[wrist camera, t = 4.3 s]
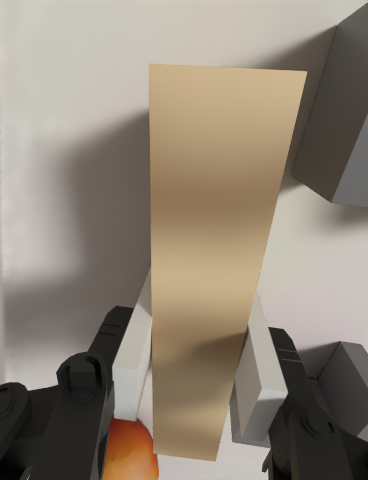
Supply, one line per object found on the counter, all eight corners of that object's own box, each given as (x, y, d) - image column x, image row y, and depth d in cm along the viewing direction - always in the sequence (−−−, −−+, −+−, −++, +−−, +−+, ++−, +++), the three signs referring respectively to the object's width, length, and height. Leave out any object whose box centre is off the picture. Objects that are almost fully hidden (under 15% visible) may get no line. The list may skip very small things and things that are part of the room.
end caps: (329, 393, 20) (359, 462, 16) (227, 377, 20) (232, 442, 16) (560, 47, 9) (827, -6, 5) (338, 23, 9) (432, -45, 6)
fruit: (53, 418, 23) (50, 530, 16) (132, 377, 26) (156, 459, 19) (81, 458, 27) (88, 564, 20) (148, 418, 29) (174, 500, 23)
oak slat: (212, 376, 18) (215, 461, 13) (166, 370, 18) (153, 453, 13) (260, 94, 10) (307, 71, 5) (174, 89, 10) (148, 63, 5)
